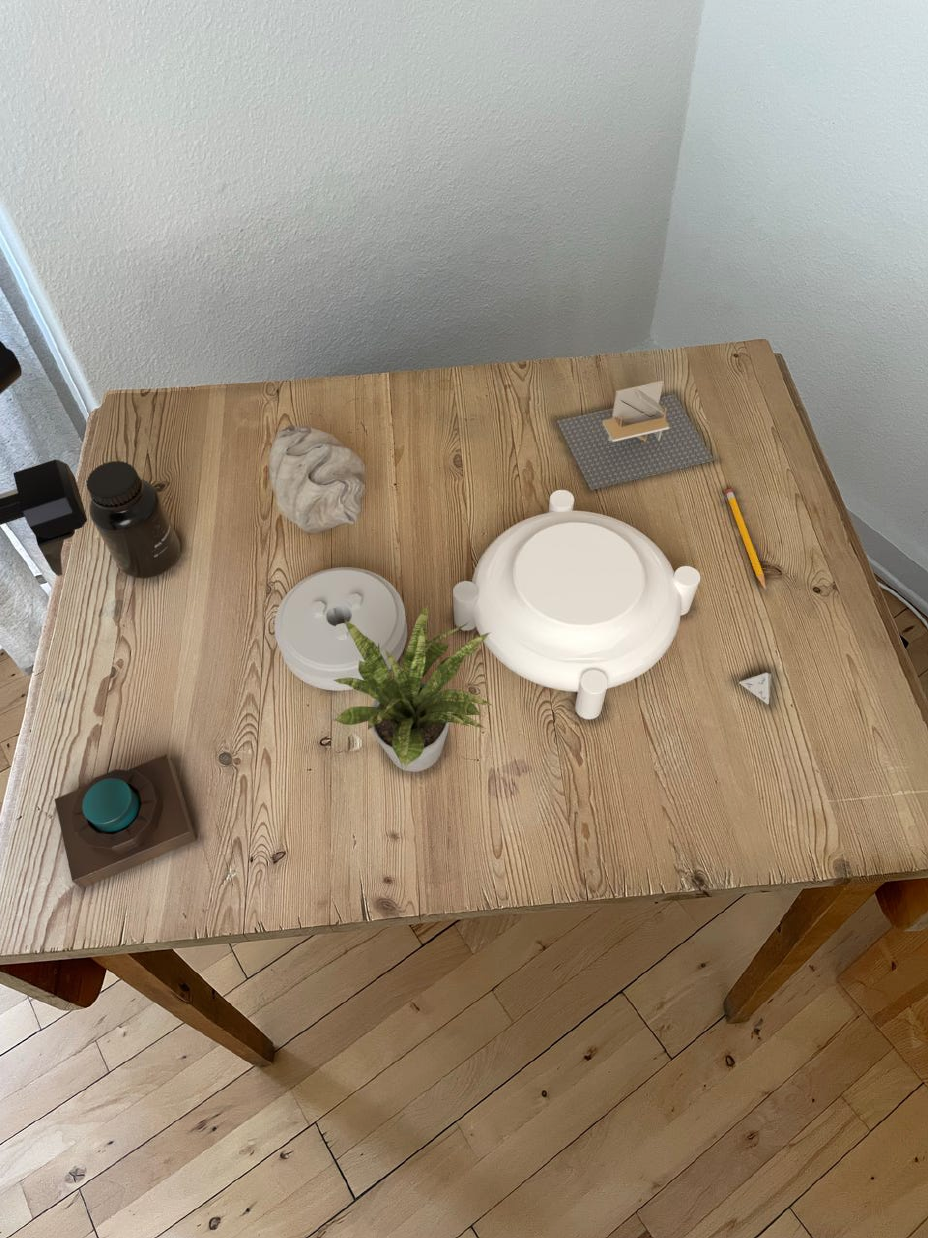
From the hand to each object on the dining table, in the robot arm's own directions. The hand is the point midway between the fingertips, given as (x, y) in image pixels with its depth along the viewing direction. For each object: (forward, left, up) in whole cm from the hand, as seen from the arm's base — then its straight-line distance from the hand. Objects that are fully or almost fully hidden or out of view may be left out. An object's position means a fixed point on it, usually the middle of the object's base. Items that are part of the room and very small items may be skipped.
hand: (5, 590), depth 75 cm
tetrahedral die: (+60, -31, -13) cm, 69 cm away
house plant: (+28, -24, -13) cm, 39 cm away
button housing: (+2, -19, -13) cm, 23 cm away
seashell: (+30, +8, -13) cm, 34 cm away
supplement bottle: (+11, +10, -13) cm, 20 cm away
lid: (+26, -9, -13) cm, 31 cm away
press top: (+2, -19, -9) cm, 21 cm away
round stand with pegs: (+48, -16, -13) cm, 52 cm away
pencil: (+69, -16, -13) cm, 72 cm away
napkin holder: (+66, +2, -13) cm, 67 cm away
